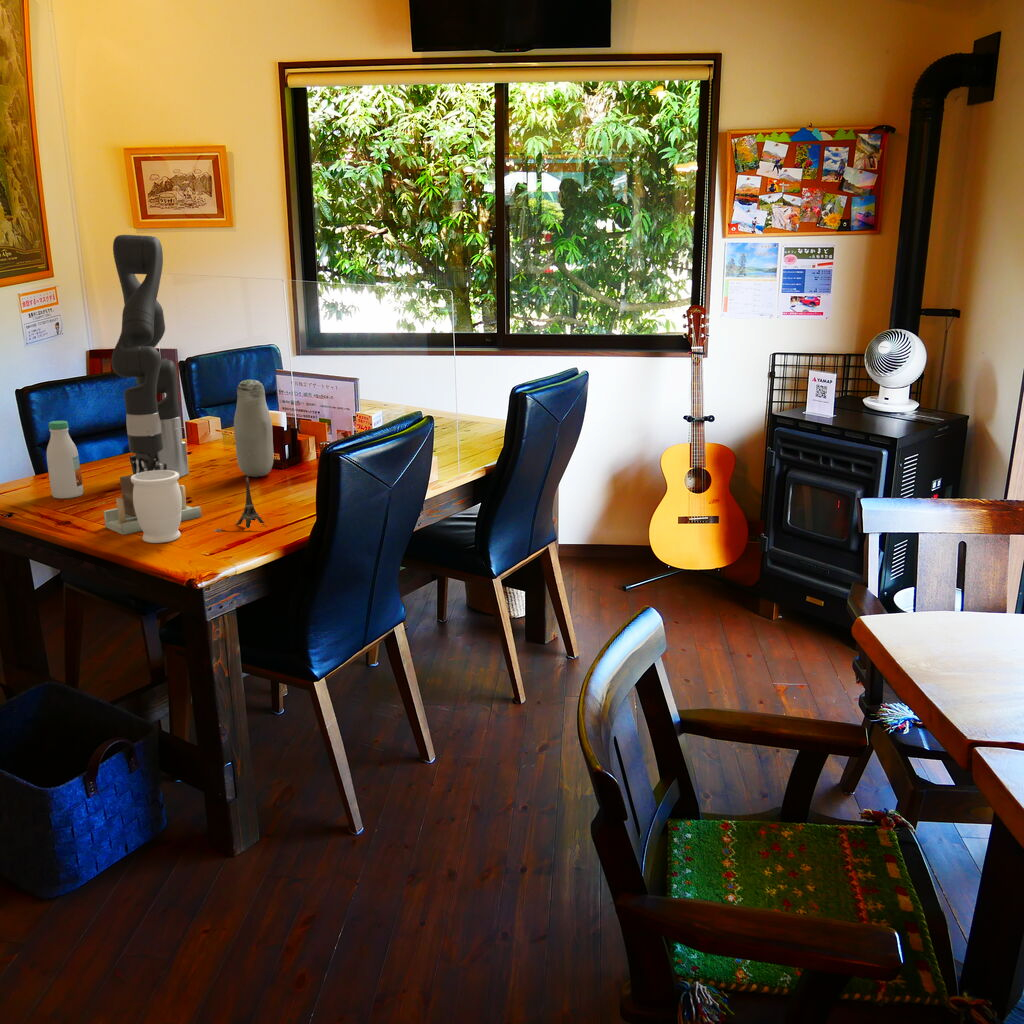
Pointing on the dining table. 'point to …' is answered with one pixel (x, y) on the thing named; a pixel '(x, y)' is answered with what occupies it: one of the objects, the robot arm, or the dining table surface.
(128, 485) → the wooden block
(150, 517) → the jar
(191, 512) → the ledge
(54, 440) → the milk bottle
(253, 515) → the eiffel tower figurine
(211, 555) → the dining table surface
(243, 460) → the grey bottle
